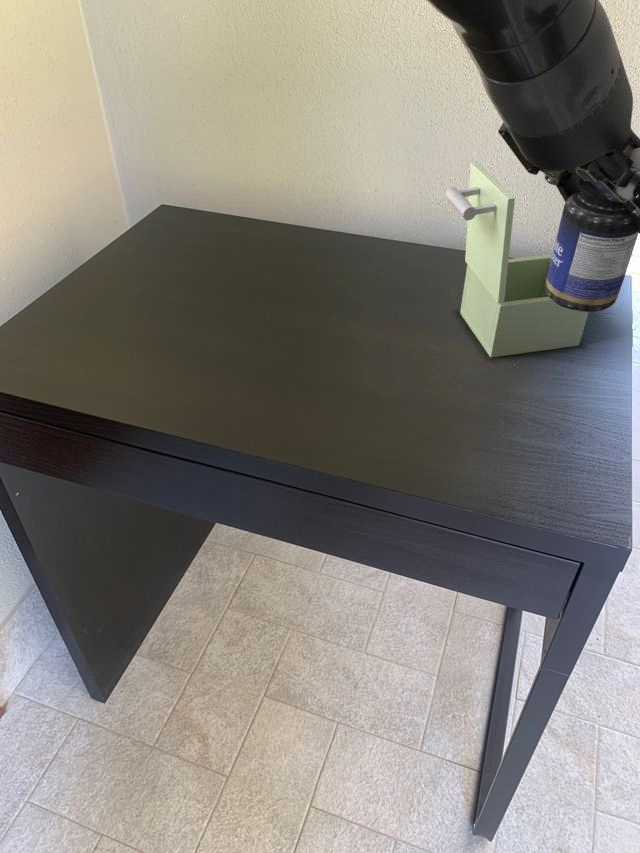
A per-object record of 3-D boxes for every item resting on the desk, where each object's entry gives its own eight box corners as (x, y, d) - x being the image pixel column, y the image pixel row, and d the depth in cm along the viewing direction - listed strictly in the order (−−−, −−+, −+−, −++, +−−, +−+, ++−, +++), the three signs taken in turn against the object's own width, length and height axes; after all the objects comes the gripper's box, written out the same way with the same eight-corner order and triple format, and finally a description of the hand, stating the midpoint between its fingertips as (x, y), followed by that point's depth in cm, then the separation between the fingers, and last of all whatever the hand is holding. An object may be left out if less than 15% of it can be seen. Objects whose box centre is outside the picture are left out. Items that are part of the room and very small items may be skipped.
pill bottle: (546, 274, 63) (575, 152, 55) (616, 284, 61) (655, 160, 54) (541, 308, 58) (571, 180, 51) (616, 319, 57) (658, 189, 50)
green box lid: (477, 161, 84) (438, 168, 84) (515, 197, 76) (472, 205, 76) (470, 260, 94) (436, 266, 93) (504, 302, 85) (466, 309, 85)
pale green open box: (541, 302, 101) (553, 254, 96) (579, 345, 93) (594, 294, 87) (460, 313, 99) (467, 263, 94) (490, 357, 91) (500, 306, 85)
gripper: (702, 45, 38) (729, 198, 51) (500, 6, 46) (568, 146, 59) (618, 164, 39) (666, 284, 52) (436, 105, 47) (517, 221, 61)
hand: (614, 210), depth 56 cm, fingers closed on pill bottle, 6 cm apart
